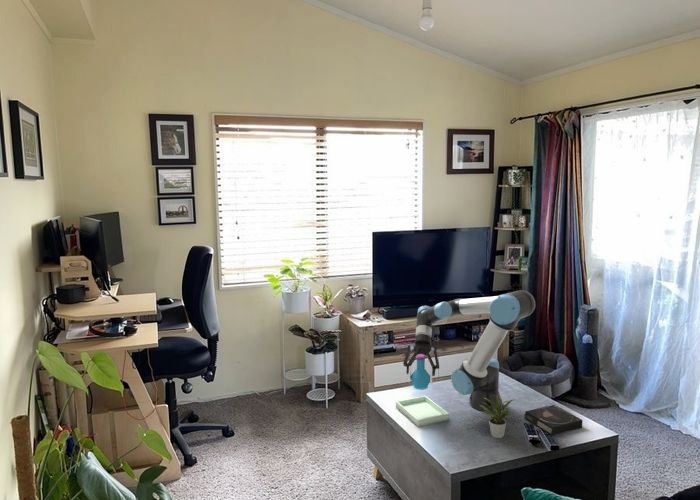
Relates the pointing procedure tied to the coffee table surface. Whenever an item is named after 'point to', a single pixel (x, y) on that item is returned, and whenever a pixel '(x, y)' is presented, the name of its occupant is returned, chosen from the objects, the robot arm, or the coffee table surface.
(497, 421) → the house plant
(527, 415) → the dark brown book
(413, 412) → the parts tray
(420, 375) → the perfume bottle
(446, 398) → the coffee table surface
